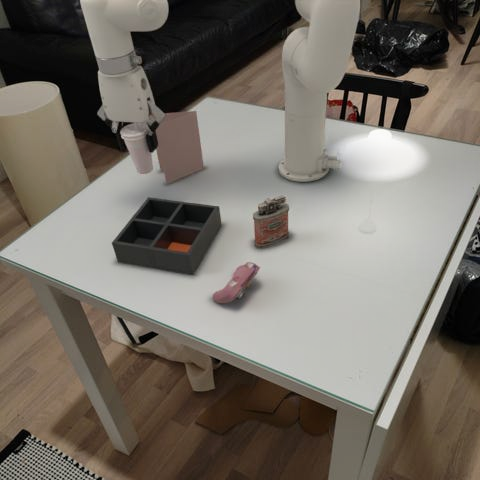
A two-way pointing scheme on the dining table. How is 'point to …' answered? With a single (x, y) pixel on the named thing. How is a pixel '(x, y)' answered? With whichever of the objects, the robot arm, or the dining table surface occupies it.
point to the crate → (168, 235)
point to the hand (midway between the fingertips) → (139, 147)
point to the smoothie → (138, 147)
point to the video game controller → (237, 283)
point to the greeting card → (179, 145)
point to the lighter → (271, 222)
